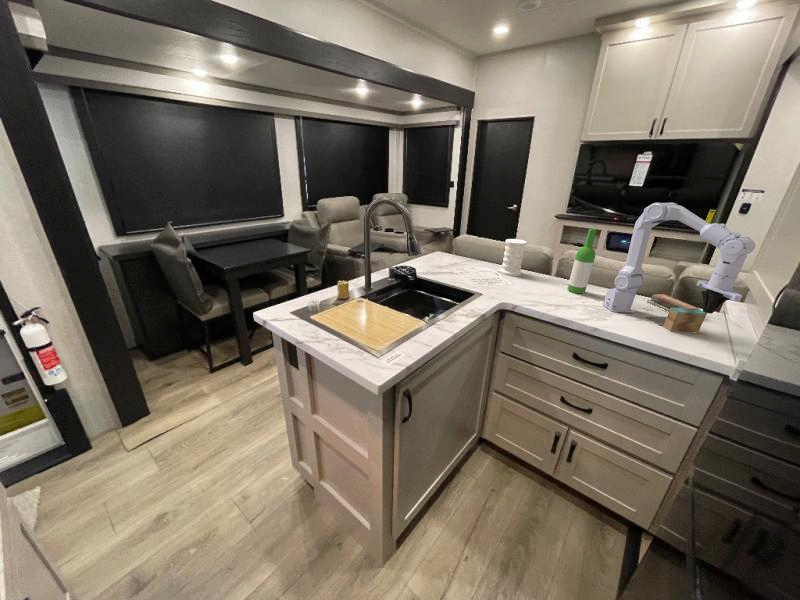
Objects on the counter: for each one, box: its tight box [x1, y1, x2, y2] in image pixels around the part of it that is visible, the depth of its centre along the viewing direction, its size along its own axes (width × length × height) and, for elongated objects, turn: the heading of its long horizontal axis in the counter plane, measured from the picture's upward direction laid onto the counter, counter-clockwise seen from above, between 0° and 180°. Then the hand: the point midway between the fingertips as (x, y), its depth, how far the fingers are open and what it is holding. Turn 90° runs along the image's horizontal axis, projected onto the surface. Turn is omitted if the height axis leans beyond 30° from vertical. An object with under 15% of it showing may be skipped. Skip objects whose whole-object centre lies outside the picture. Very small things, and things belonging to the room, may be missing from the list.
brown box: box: [662, 308, 708, 334], centre depth 116 cm, size 10×4×8 cm, turn 86°
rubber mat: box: [646, 315, 667, 327], centre depth 123 cm, size 12×8×1 cm, turn 86°
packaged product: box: [646, 293, 701, 313], centre depth 133 cm, size 18×5×10 cm
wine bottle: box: [567, 228, 597, 295], centre depth 145 cm, size 8×8×30 cm
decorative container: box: [499, 238, 528, 277], centre depth 172 cm, size 12×12×18 cm
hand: (707, 312), depth 107 cm, fingers closed
